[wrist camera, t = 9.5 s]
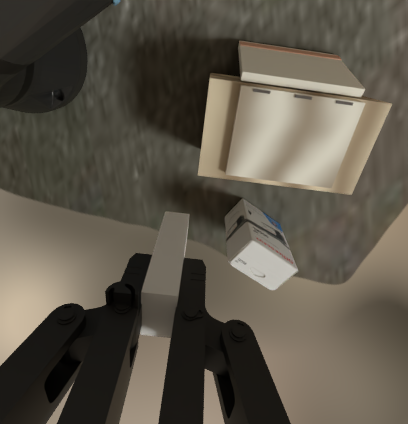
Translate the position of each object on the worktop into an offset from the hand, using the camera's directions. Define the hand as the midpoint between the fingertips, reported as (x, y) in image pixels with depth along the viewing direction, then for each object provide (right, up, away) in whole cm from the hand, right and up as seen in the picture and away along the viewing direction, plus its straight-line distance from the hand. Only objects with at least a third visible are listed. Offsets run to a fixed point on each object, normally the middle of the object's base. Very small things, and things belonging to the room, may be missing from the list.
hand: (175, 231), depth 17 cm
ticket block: (+11, +14, +20) cm, 27 cm away
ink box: (+10, 0, +28) cm, 30 cm away
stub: (+12, +17, +13) cm, 24 cm away
